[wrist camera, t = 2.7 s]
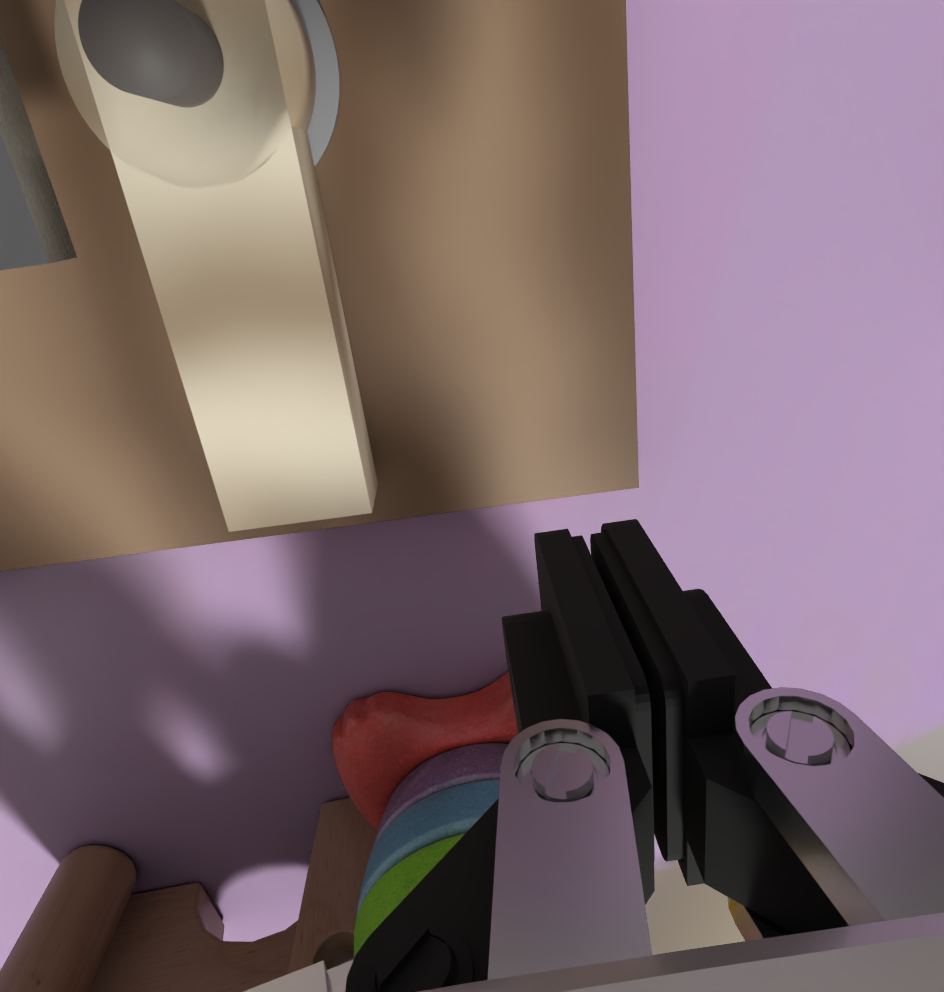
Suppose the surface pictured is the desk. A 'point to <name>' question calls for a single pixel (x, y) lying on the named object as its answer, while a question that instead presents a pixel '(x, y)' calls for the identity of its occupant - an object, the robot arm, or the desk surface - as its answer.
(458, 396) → the base board
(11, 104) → the keeper
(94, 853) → the wooden toy
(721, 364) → the desk surface
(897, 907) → the robot arm
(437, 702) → the stacking bear
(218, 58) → the link
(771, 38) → the desk surface
